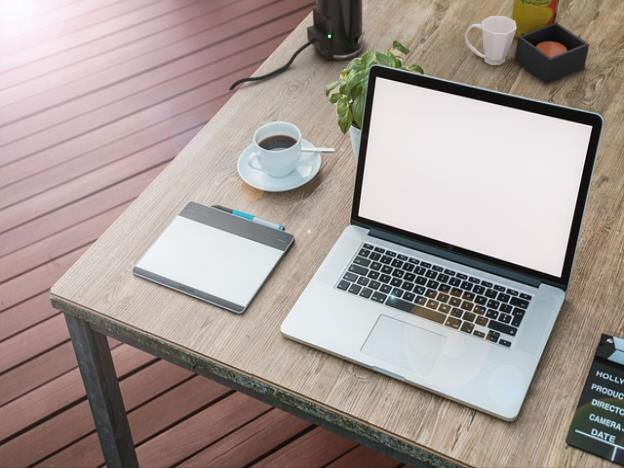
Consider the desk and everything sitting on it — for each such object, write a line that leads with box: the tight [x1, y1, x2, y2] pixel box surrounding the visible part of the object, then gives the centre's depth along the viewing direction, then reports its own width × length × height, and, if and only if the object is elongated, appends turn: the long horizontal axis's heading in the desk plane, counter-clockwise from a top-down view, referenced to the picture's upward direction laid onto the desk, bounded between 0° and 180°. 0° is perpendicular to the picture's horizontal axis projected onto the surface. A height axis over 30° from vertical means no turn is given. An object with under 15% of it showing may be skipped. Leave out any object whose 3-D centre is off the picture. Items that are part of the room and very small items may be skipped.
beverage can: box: [510, 0, 560, 40], centre depth 173 cm, size 9×9×12 cm
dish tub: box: [514, 21, 590, 85], centre depth 167 cm, size 10×10×6 cm
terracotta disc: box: [536, 41, 567, 58], centre depth 167 cm, size 6×6×3 cm
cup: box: [464, 15, 517, 66], centre depth 168 cm, size 7×10×8 cm
